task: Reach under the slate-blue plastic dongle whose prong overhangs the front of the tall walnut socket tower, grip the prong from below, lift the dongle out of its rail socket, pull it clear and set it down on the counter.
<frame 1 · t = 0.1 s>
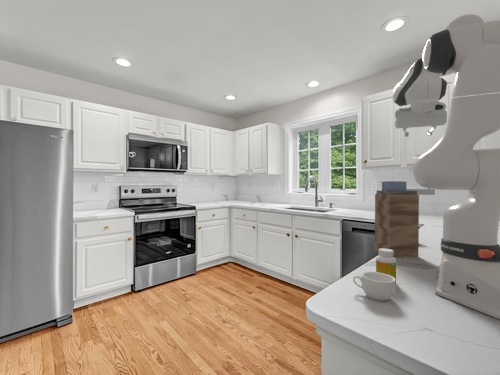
hand: (417, 135, 119), 54 cm above the counter, tool tilted 30°, fingers open, 8 cm apart
dongle: (408, 194, 109), point 26 cm above the counter, touching socket tower
socket tower: (395, 253, 108), on the counter
supplement bottle 2: (385, 282, 75), on the counter
teacup: (373, 296, 65), on the counter
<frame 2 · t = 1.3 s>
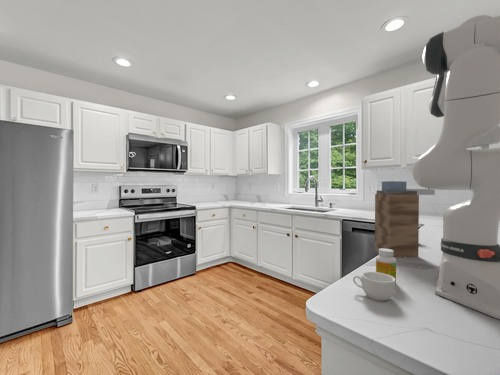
hand: (469, 158, 101), 41 cm above the counter, tool pointing down, fingers open, 8 cm apart
nothing on the counter moved.
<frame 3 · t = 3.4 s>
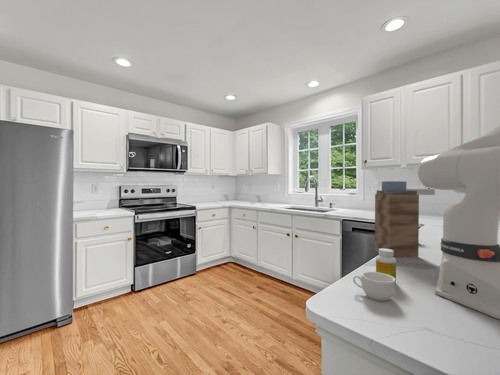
hand: (457, 177, 111), 34 cm above the counter, tool pointing upward, fingers open, 8 cm apart
nothing on the counter moved.
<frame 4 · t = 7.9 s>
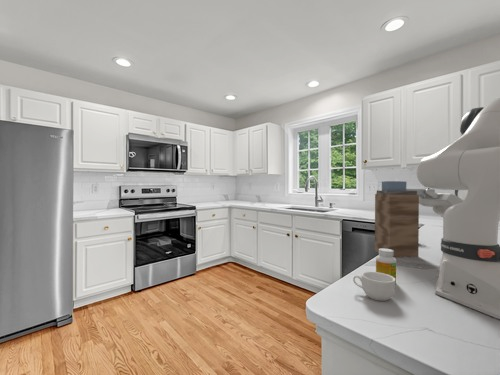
hand: (420, 190, 109), 28 cm above the counter, tool pointing upward, fingers closed on dongle, 4 cm apart
dongle: (408, 194, 109), point 26 cm above the counter, touching gripper, socket tower
everything else where it was.
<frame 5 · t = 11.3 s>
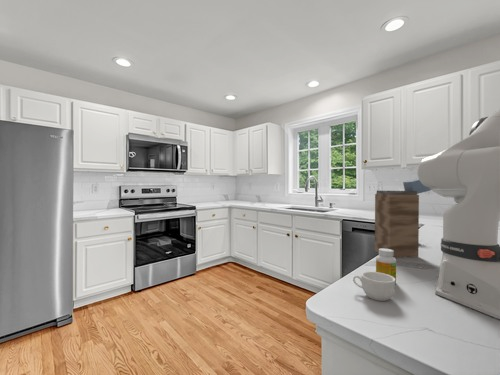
hand: (442, 181, 111), 32 cm above the counter, tool pointing upward, fingers closed on dongle, 4 cm apart
dongle: (431, 189, 110), point 29 cm above the counter, tilted 13°, touching gripper
everything else where it was.
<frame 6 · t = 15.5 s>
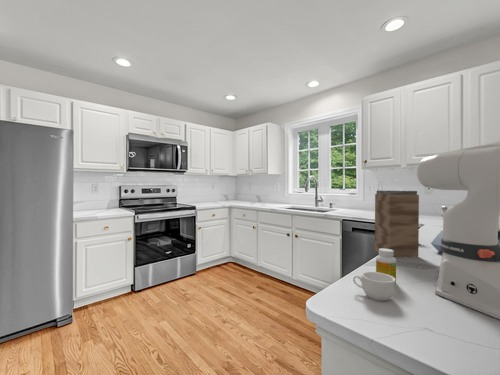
hand: (452, 208, 111), 20 cm above the counter, tool pointing upward, fingers open, 8 cm apart
dongle: (458, 234, 111), point 8 cm above the counter, tilted 46°, touching arm
everything else where it was.
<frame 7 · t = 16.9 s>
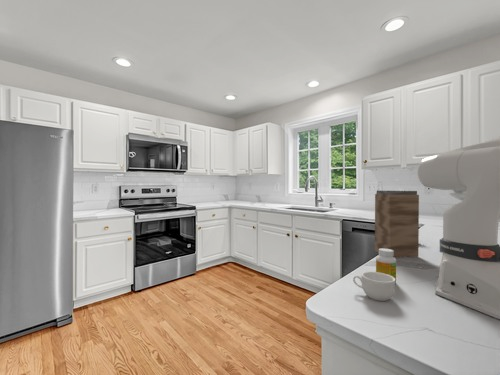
hand: (461, 185, 112), 30 cm above the counter, tool pointing upward, fingers open, 8 cm apart
dongle: (466, 252, 112), on the counter
everything else where it was.
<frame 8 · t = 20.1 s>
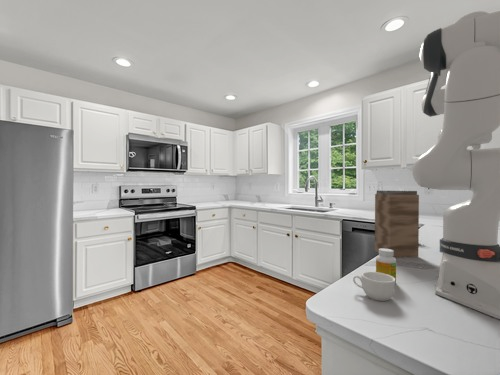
hand: (461, 158, 100), 41 cm above the counter, tool pointing down, fingers open, 8 cm apart
nothing on the counter moved.
at the end: dongle inside the target area (12.6 cm from its centre), on the counter; the gripper is holding nothing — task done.
